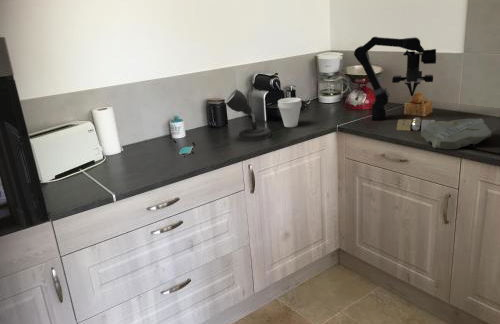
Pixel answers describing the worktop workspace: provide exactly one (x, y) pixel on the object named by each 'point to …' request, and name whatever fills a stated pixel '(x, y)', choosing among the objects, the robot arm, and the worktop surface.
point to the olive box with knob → (405, 124)
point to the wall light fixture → (240, 104)
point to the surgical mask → (186, 149)
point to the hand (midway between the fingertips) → (411, 96)
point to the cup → (290, 111)
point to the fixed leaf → (424, 123)
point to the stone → (456, 133)
